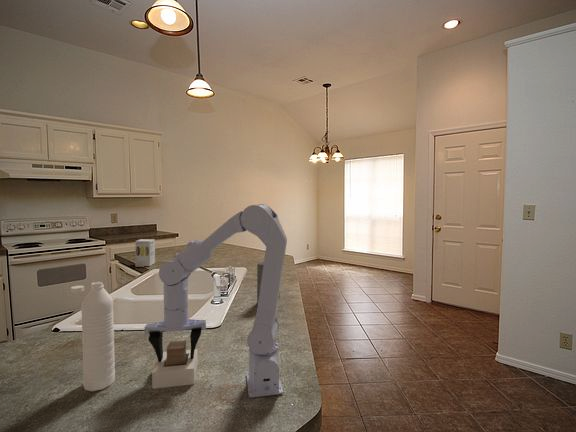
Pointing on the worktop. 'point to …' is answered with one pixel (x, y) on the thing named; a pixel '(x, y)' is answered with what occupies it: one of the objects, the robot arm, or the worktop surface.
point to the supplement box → (144, 252)
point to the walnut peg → (176, 353)
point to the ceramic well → (175, 372)
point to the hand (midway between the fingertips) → (176, 358)
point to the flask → (260, 278)
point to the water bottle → (97, 337)
